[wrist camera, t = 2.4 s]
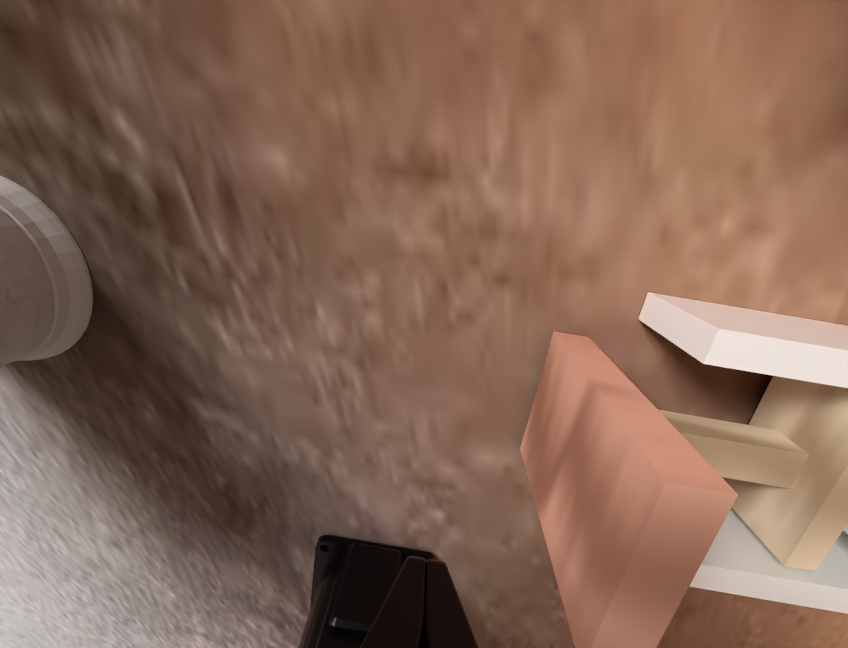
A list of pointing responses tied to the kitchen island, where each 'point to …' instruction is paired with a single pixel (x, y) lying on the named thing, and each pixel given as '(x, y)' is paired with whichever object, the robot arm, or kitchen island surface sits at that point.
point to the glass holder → (38, 280)
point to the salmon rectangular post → (670, 488)
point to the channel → (778, 356)
